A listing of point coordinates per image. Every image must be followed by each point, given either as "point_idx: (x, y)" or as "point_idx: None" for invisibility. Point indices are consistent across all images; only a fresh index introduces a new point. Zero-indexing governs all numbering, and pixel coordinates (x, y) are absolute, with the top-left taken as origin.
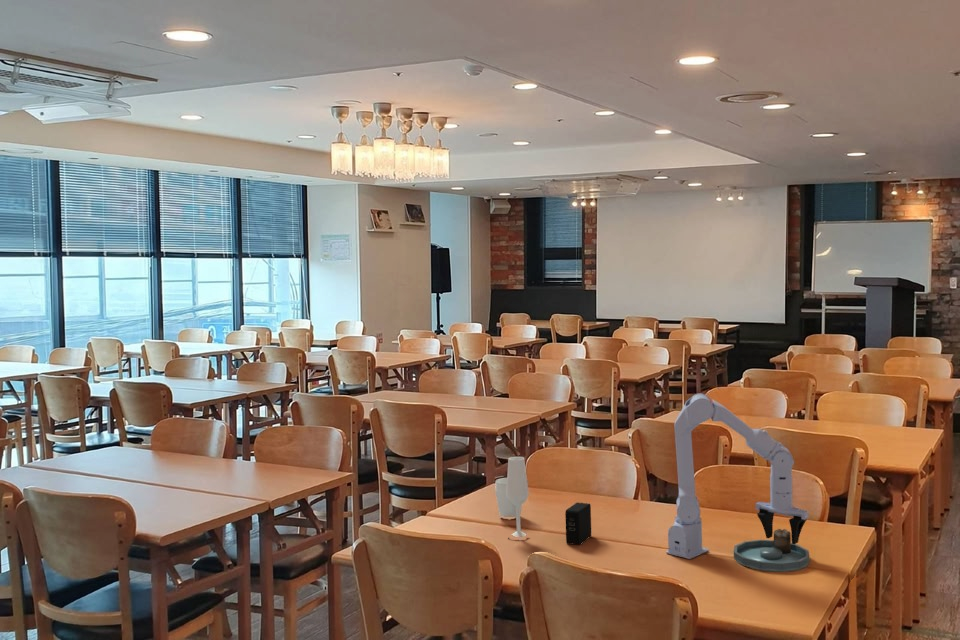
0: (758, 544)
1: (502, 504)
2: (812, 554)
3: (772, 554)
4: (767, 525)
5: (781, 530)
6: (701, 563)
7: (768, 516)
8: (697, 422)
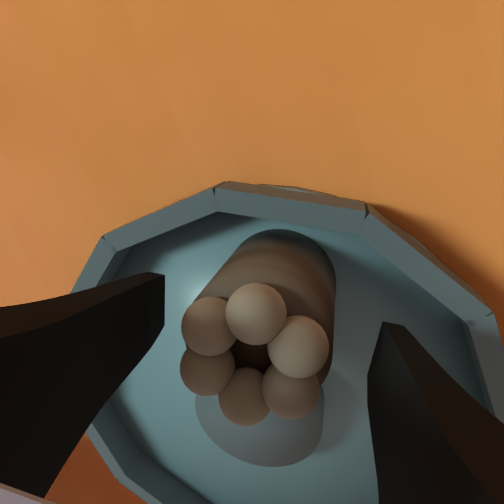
0: (118, 261)
1: None
2: (478, 170)
3: (286, 463)
4: (94, 398)
5: (226, 338)
6: (75, 501)
7: (14, 465)
8: None
